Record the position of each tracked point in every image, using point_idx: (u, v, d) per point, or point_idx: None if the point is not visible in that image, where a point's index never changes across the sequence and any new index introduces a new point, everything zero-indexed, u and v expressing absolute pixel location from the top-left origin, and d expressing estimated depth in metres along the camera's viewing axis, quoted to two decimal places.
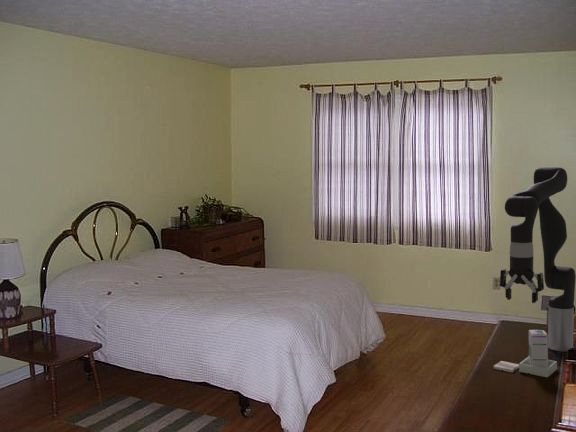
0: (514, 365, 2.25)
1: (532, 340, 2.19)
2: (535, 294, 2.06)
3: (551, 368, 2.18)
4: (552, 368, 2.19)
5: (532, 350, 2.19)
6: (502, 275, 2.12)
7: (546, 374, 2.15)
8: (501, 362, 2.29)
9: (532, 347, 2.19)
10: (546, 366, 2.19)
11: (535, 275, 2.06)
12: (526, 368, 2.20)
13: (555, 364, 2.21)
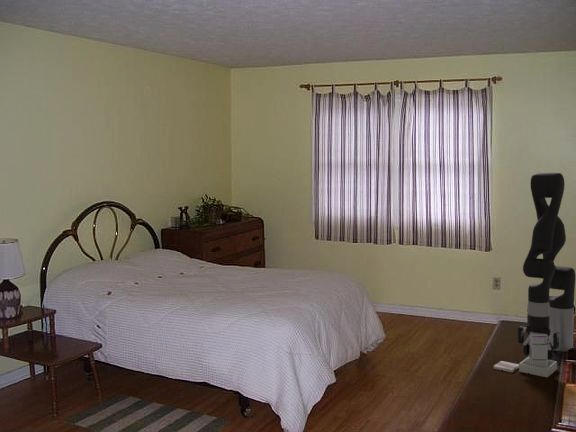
0: (514, 365, 2.25)
1: (532, 340, 2.19)
2: (551, 352, 2.18)
3: (551, 368, 2.18)
4: (552, 368, 2.19)
5: (532, 350, 2.19)
6: (520, 332, 2.24)
7: (546, 374, 2.15)
8: (501, 362, 2.29)
9: (532, 347, 2.19)
10: (546, 366, 2.19)
11: (551, 334, 2.17)
12: (526, 368, 2.20)
13: (555, 364, 2.21)
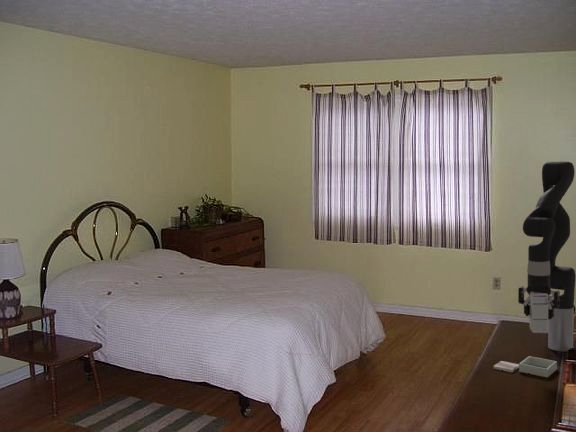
0: (514, 365, 2.25)
1: (533, 300, 2.17)
2: (551, 311, 2.16)
3: (551, 368, 2.18)
4: (552, 368, 2.19)
5: (533, 310, 2.18)
6: (520, 292, 2.22)
7: (546, 374, 2.15)
8: (501, 362, 2.29)
9: (533, 307, 2.18)
10: (547, 326, 2.17)
11: (552, 293, 2.16)
12: (526, 368, 2.20)
13: (555, 364, 2.21)
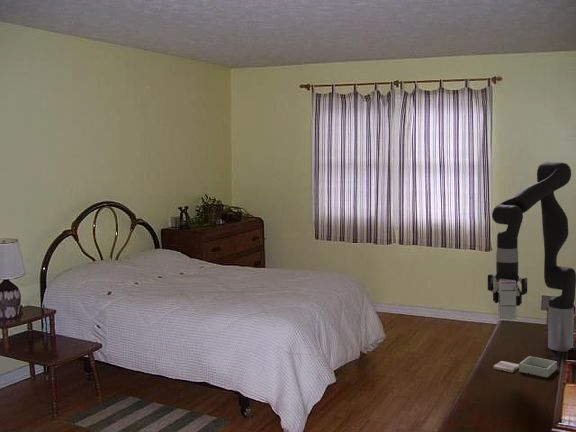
0: (514, 365, 2.25)
1: (501, 286, 2.20)
2: (519, 297, 2.20)
3: (551, 368, 2.18)
4: (552, 368, 2.19)
5: (501, 296, 2.21)
6: (489, 279, 2.26)
7: (546, 374, 2.15)
8: (501, 362, 2.29)
9: (501, 293, 2.21)
10: (515, 312, 2.21)
11: (520, 279, 2.19)
12: (526, 368, 2.20)
13: (555, 364, 2.21)
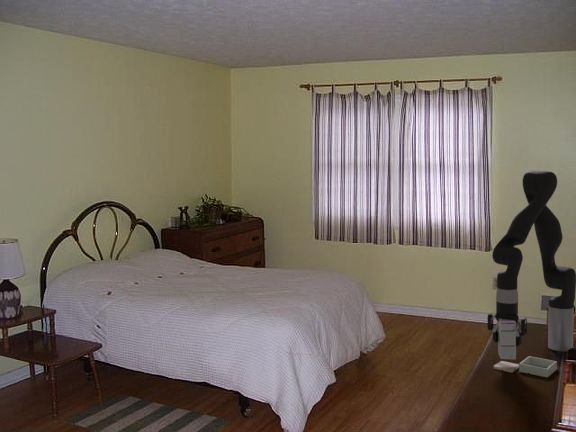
0: (514, 365, 2.25)
1: (500, 327, 2.22)
2: (519, 338, 2.21)
3: (551, 368, 2.18)
4: (552, 368, 2.19)
5: (500, 336, 2.22)
6: (489, 319, 2.27)
7: (546, 374, 2.15)
8: (501, 362, 2.29)
9: (500, 333, 2.22)
10: (514, 352, 2.22)
11: (519, 320, 2.20)
12: (526, 368, 2.20)
13: (555, 364, 2.21)
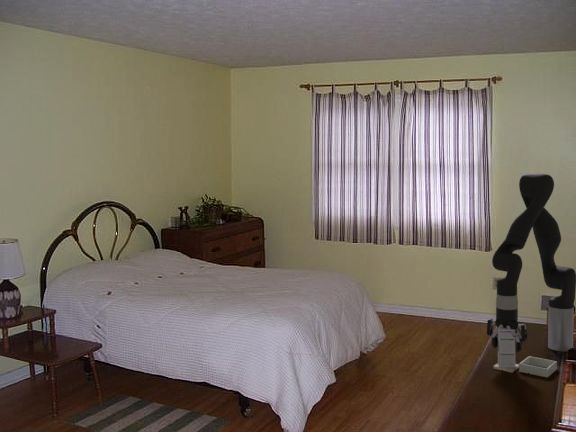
0: None
1: (500, 335, 2.22)
2: (519, 344, 2.21)
3: (551, 368, 2.18)
4: (552, 368, 2.19)
5: (500, 345, 2.23)
6: (489, 324, 2.27)
7: (546, 374, 2.15)
8: None
9: (500, 342, 2.23)
10: (514, 361, 2.23)
11: (519, 326, 2.21)
12: (526, 368, 2.20)
13: (555, 364, 2.21)
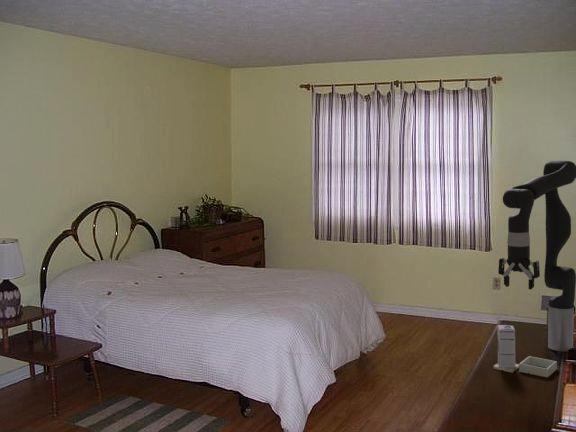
0: None
1: (500, 335, 2.22)
2: (531, 281, 2.19)
3: (551, 368, 2.18)
4: (552, 368, 2.19)
5: (500, 345, 2.23)
6: (500, 263, 2.25)
7: (546, 374, 2.15)
8: None
9: (500, 342, 2.23)
10: (514, 361, 2.23)
11: (531, 263, 2.18)
12: (526, 368, 2.20)
13: (555, 364, 2.21)
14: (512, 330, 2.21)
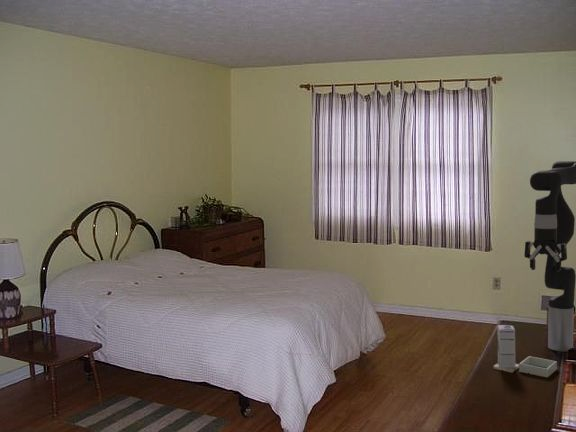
0: None
1: (500, 335, 2.22)
2: (559, 263, 2.18)
3: (551, 368, 2.18)
4: (552, 368, 2.19)
5: (500, 345, 2.23)
6: (527, 246, 2.24)
7: (546, 374, 2.15)
8: None
9: (500, 342, 2.23)
10: (514, 361, 2.23)
11: (559, 245, 2.17)
12: (526, 368, 2.20)
13: (555, 364, 2.21)
14: (512, 330, 2.21)
